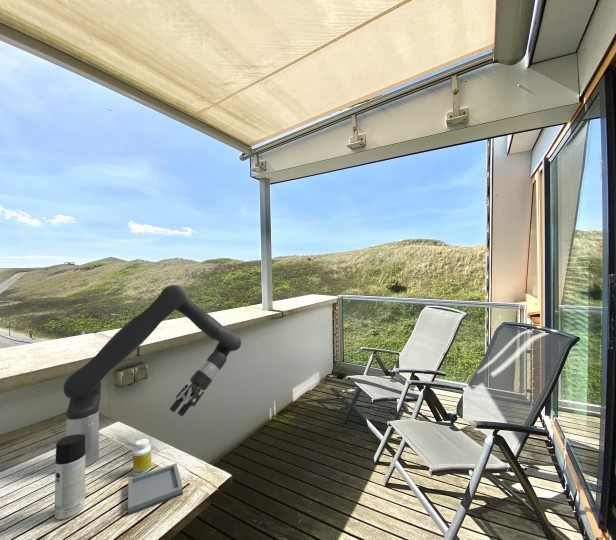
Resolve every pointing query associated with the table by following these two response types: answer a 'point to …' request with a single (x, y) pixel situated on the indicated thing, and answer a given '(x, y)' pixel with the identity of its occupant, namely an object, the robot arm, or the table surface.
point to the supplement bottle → (142, 457)
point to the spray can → (69, 476)
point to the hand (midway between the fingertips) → (175, 412)
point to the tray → (153, 488)
